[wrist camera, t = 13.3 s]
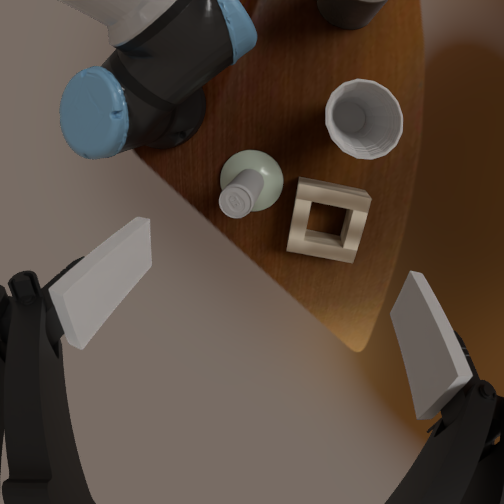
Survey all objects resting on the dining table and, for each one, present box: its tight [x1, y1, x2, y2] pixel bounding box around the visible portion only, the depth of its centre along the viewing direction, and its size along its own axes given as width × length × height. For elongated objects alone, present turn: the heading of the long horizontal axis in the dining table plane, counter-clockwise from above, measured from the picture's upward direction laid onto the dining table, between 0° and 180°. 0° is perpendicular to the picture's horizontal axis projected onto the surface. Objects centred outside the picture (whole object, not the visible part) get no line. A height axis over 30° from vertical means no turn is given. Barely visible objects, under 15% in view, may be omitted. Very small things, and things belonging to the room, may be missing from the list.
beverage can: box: [219, 169, 264, 218], centre depth 42 cm, size 5×5×12 cm
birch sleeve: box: [287, 177, 371, 263], centre depth 47 cm, size 12×12×5 cm
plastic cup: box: [325, 79, 403, 159], centre depth 35 cm, size 11×11×12 cm
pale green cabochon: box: [220, 150, 283, 211], centre depth 48 cm, size 11×11×1 cm
